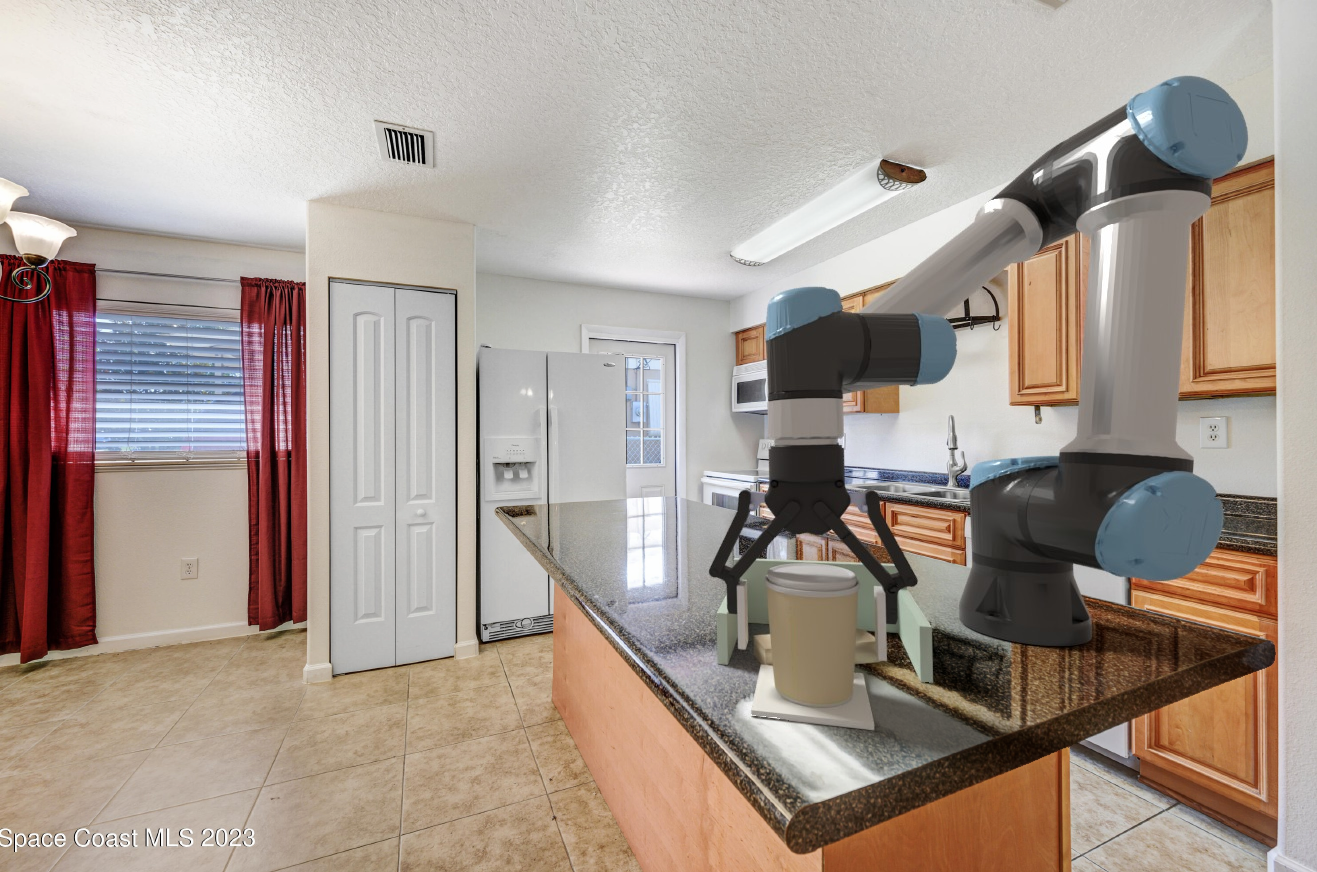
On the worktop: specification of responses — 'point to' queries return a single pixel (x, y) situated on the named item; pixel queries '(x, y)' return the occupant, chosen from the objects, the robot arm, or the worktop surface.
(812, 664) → the coffee cup
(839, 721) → the white square tile
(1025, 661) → the worktop surface
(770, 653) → the birch offcut
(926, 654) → the screen
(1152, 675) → the worktop surface
